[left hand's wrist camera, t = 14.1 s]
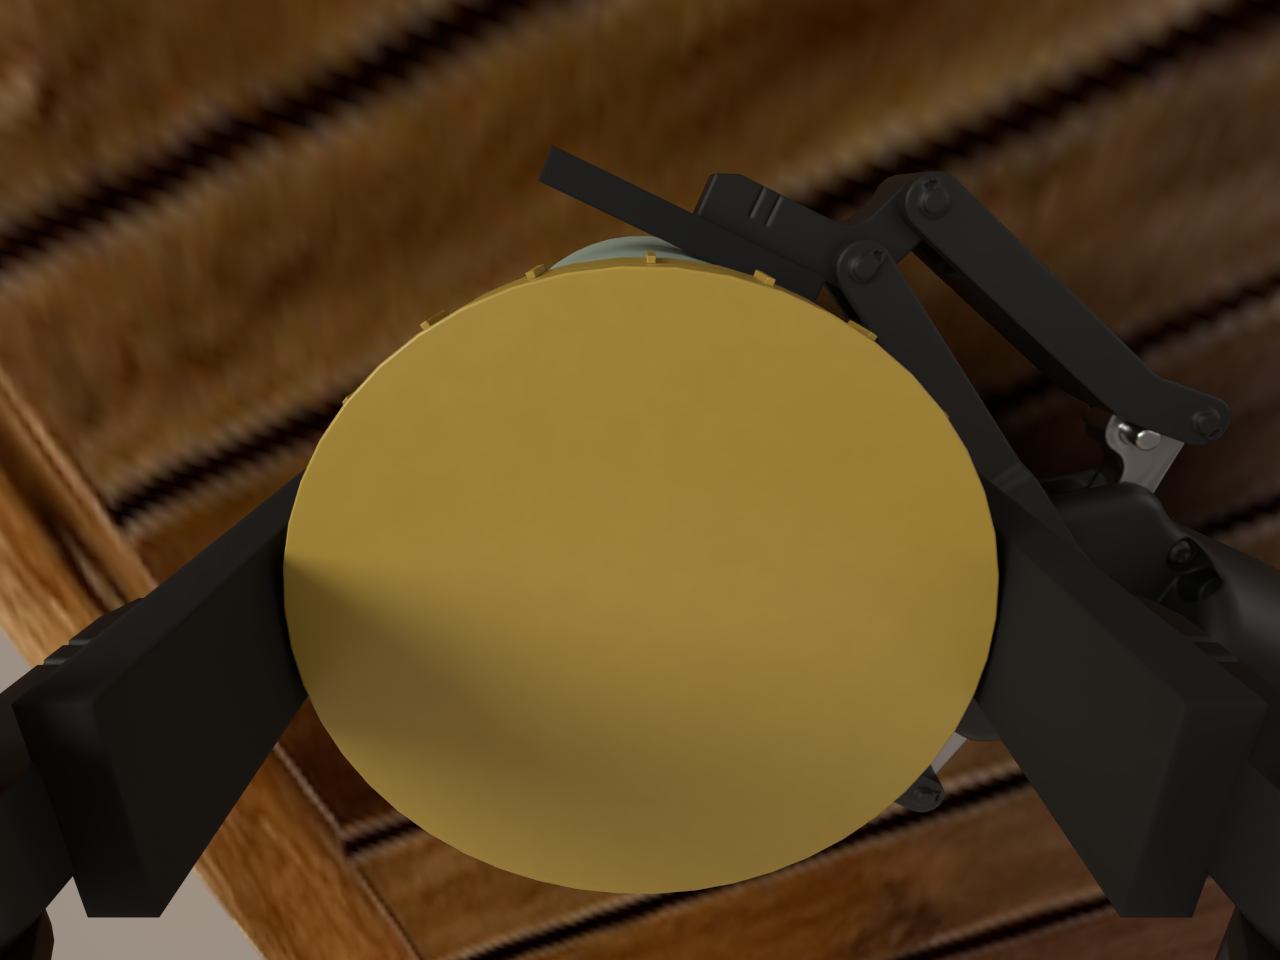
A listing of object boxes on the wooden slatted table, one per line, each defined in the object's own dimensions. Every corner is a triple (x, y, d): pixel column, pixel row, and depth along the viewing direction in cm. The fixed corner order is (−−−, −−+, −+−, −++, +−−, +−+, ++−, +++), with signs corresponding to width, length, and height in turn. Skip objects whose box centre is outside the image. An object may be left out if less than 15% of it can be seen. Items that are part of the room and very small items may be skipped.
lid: (184, 492, 11) (116, 535, 10) (758, 90, 9) (780, 70, 8) (561, 899, 14) (552, 978, 13) (1056, 658, 12) (1112, 720, 11)
